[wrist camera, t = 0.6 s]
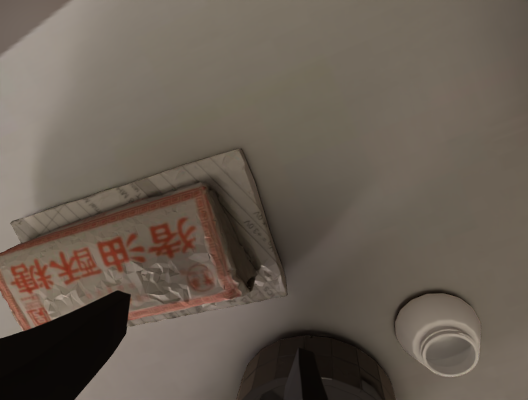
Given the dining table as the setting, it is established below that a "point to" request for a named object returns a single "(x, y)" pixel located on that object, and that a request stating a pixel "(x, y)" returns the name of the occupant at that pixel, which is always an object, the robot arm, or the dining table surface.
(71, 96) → the dining table surface
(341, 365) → the bowl
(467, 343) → the white jar
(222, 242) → the packaged product
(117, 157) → the dining table surface
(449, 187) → the dining table surface
